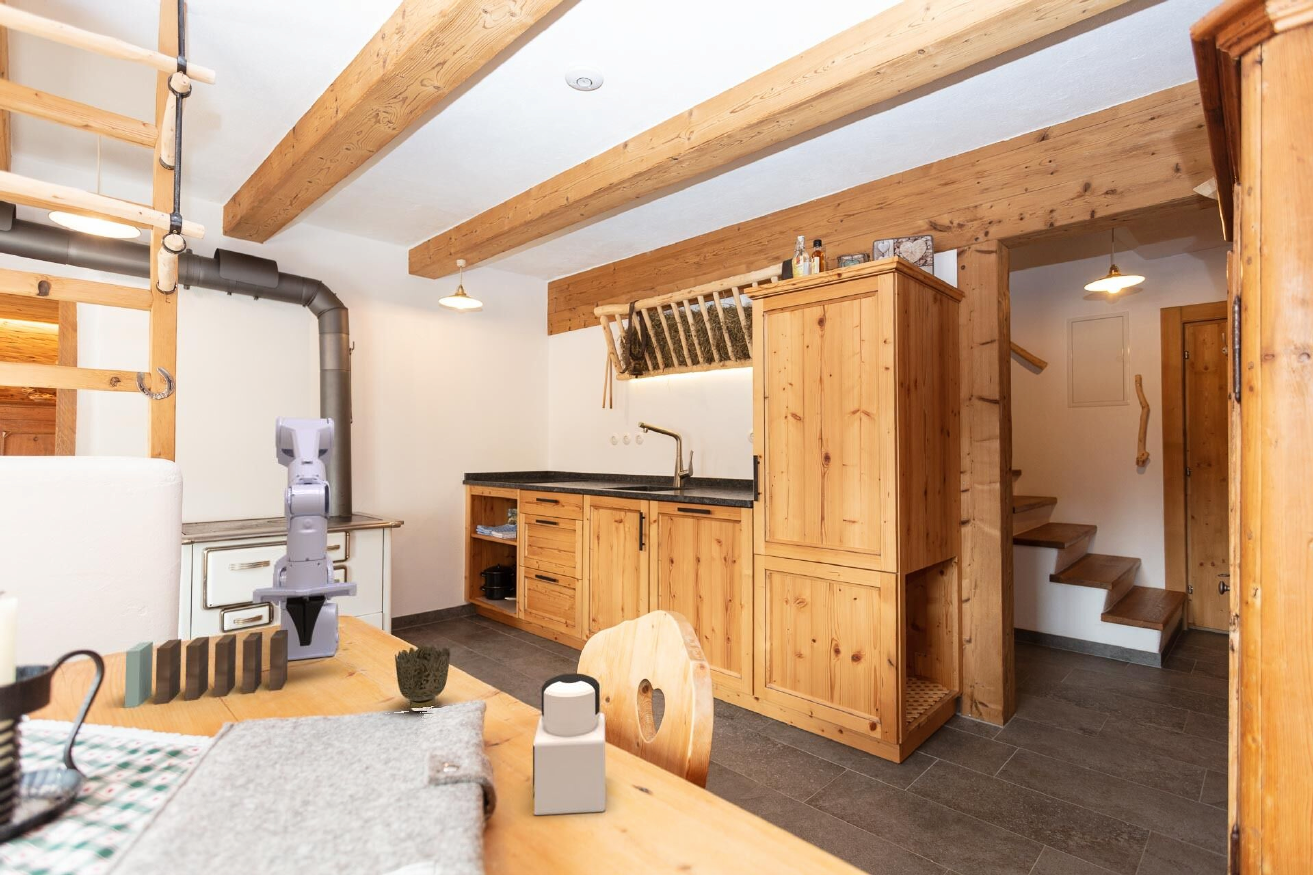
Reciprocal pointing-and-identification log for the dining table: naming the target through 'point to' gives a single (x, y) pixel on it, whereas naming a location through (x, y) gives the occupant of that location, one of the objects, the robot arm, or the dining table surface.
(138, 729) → the dining table surface
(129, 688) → the domino
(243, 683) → the domino
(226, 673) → the domino
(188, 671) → the domino
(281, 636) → the domino
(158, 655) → the domino
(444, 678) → the cup
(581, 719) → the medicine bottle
